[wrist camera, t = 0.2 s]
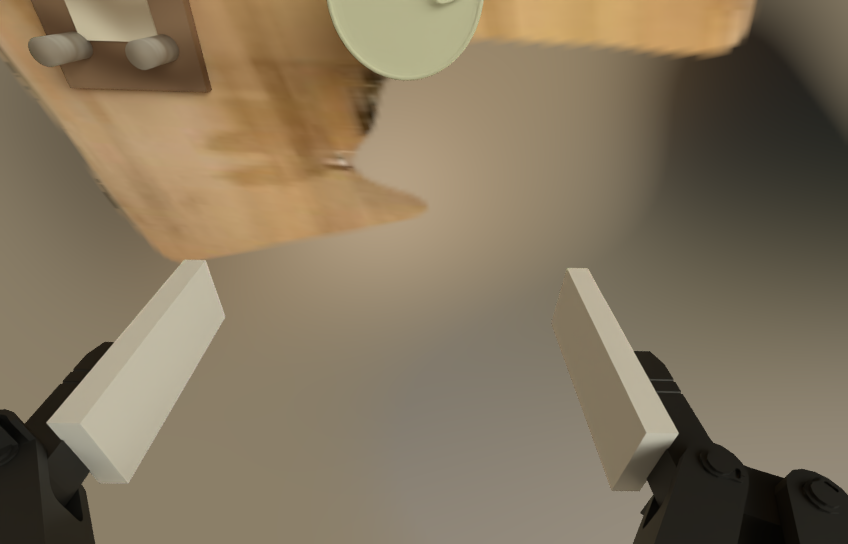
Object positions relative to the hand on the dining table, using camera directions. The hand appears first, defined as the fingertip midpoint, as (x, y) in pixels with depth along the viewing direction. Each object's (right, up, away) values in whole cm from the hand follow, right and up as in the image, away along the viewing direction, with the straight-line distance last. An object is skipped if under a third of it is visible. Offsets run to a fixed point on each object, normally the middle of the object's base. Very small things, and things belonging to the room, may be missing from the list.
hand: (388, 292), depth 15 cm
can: (0, +24, +17) cm, 29 cm away
